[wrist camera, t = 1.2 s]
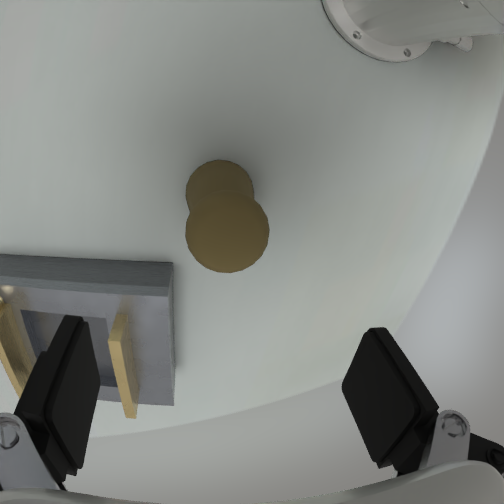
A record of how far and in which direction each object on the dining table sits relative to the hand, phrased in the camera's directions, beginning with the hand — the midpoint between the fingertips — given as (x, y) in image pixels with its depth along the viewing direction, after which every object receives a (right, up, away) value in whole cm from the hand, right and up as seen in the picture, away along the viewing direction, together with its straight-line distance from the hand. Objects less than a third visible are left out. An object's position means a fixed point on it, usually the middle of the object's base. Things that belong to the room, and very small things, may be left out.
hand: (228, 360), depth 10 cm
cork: (-2, +9, +18) cm, 21 cm away
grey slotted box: (-17, -3, +22) cm, 28 cm away
